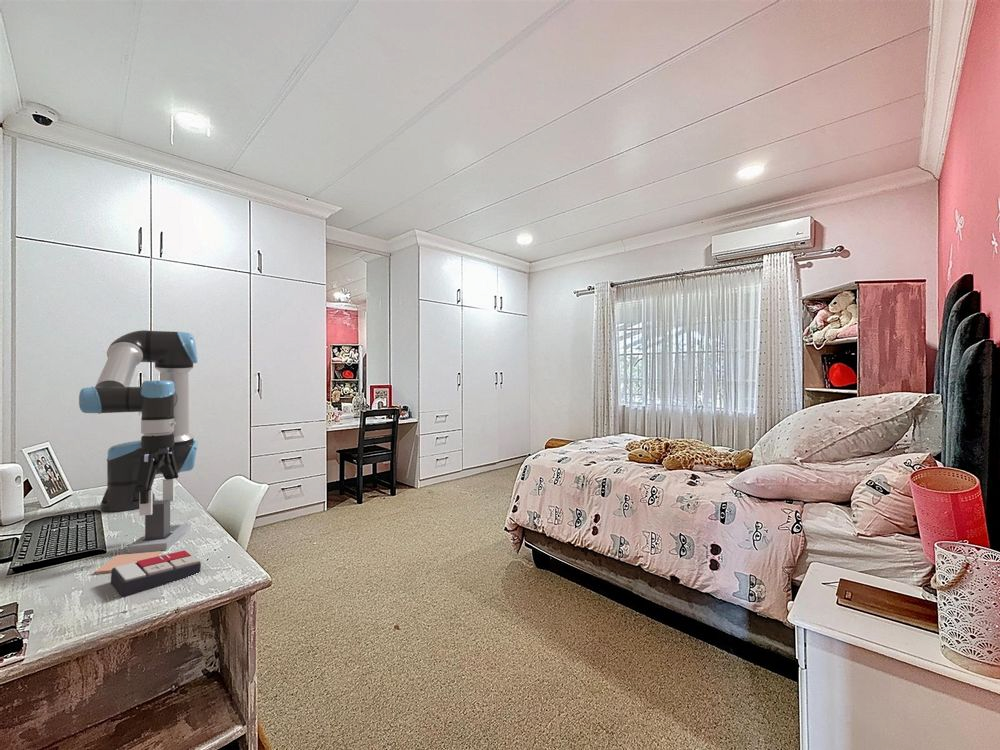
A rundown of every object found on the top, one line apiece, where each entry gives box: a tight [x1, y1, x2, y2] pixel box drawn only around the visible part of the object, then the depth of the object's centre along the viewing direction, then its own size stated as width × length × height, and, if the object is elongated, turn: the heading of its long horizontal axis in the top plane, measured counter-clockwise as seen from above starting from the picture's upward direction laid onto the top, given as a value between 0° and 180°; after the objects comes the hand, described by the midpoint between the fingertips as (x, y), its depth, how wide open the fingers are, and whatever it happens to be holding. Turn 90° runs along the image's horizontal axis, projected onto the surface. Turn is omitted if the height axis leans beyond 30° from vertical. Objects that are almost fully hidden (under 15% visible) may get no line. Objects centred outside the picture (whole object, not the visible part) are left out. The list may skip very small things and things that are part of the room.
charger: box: [144, 499, 171, 541], centre depth 125 cm, size 4×4×12 cm
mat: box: [93, 551, 162, 575], centre depth 113 cm, size 10×10×1 cm
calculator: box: [110, 550, 202, 598], centre depth 105 cm, size 11×4×15 cm
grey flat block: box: [127, 523, 191, 554], centre depth 127 cm, size 16×9×2 cm, turn 16°
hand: (157, 507), depth 125 cm, fingers open, 13 cm apart
